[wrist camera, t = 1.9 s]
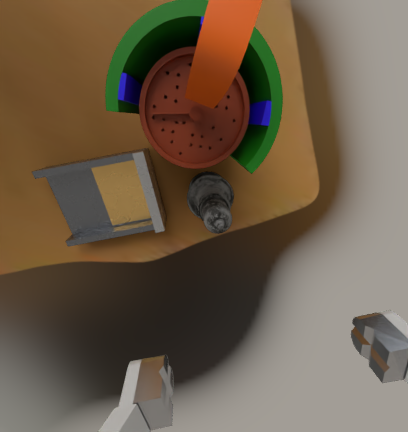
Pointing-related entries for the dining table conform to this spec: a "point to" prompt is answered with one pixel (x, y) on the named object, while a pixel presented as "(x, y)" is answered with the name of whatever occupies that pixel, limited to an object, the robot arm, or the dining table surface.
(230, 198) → the grey tall turned piece
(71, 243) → the grey open frame
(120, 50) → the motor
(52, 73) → the dining table surface
